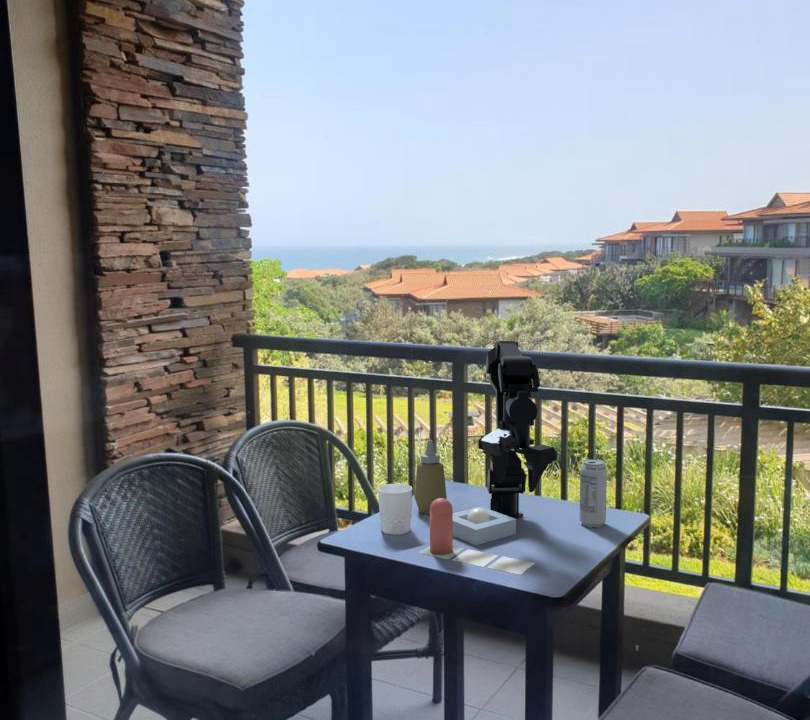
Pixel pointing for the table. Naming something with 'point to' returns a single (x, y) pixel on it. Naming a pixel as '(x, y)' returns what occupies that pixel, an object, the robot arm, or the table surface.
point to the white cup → (395, 508)
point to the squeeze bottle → (429, 479)
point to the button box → (482, 527)
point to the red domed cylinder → (441, 527)
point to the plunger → (478, 516)
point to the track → (484, 560)
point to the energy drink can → (593, 493)
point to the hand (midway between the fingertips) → (516, 487)
